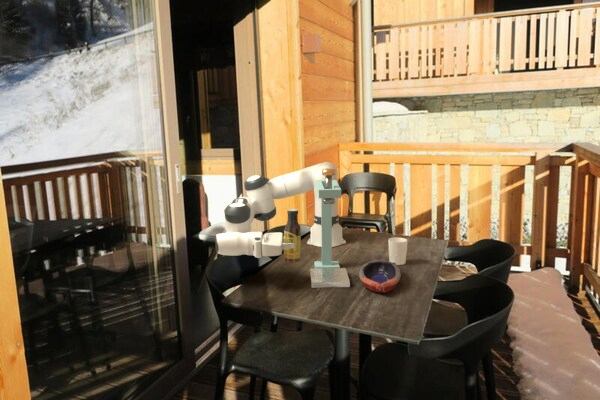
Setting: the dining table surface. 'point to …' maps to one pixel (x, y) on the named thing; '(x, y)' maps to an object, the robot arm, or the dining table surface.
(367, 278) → the dish
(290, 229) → the sauce bottle
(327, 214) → the press frame
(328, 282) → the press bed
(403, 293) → the dining table surface
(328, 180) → the ram
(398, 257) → the white cup
